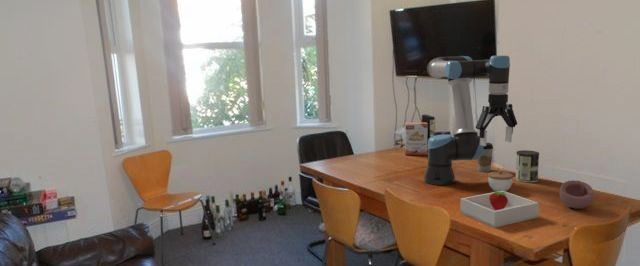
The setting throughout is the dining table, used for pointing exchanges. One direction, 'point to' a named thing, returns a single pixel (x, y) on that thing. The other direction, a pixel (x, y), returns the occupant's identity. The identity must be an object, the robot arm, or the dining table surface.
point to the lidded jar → (500, 181)
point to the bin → (512, 213)
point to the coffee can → (527, 166)
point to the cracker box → (416, 138)
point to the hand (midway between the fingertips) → (495, 143)
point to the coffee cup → (485, 158)
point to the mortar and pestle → (576, 194)
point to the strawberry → (498, 200)
